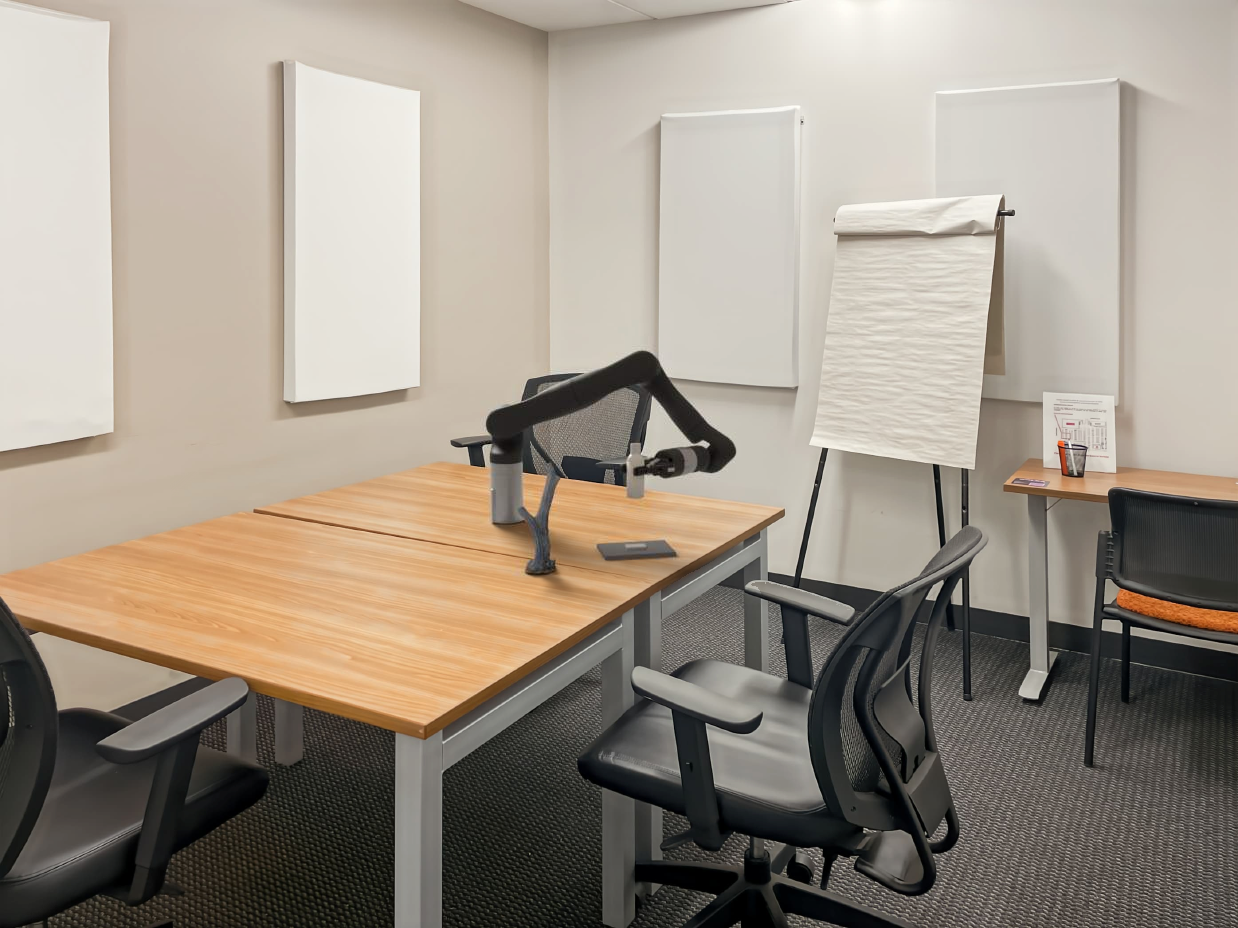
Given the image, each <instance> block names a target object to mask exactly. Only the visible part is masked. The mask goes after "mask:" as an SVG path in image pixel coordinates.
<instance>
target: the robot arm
mask: <svg viewBox="0 0 1238 928" xmlns="http://www.w3.org/2000/svg"><path fill="white" fill-rule="evenodd" d="M636 385H639V386H640V387H641V388H643V389H644V390H645V391H646V392H648V393H649V394H650V395H651V396H652V397H653V398H654V399H655V400H656V401H657V402H658V403H659V405H660V406H661V407H662V409H663V410H664V411H665V412H666V415H668V417H669V418H670V420H671V421H672V422H673V424H674V425H675V427H676V428H677V429H678V430H679V431H680V432H681V433H682V435H684V437H686V438H685V439H687V440H688V441H689V442H690V444H693V445H690V446H678V447H671V448H665V449H664V448H663V449H660V450H658V451H657V452H656V454H655V455H654V456H648V457H645V458H644V466H638V467H634V468H633V475H634V476H641V475H644V476H652V477H660V478H662V479H666V480H667V479H671V478H678V477H682V476H686V475H689V474H692V473H698V472H701V473H707V474H714V473H718V472H720V471H721V470H723V468H725V467H726V466H727V465H728V464H729V463H730V462H731V461H732V460H733V459H734V458H735V457H736V455H737V448H736V445H735V443H734V442H733V440H731V438H729V437H728V436H727V435H726V434H724V433H722V432H721V431H719V430H718V429H716V428H715V427H713V426H712V425H711V424H710V423H708V421H706V419H705V418H704V417H703V416H702V415H701V413H700V412H699V411H698V410H697V408H695V407H694V406H693V405H692V404H691V403H690V401H689V400H687V398H685V397H684V395H683V394H682V393H681V392H680V391H679V390H678V388H676V386H675V385H674V384H673V383H672V381H671V380H670V378H669V377H668V375H667V374H666V372H665V370H664V369H663V366H662V365H661V362H660V360H659V359H658V357H657V356H655V355H654V354H653V353H652V352H650V351H648V350H643V349H642V350H637V351H634V352H632V353H630V354H627V355H626V356H624V357H622V358H620V359H618V360H617V361H615V362H612V363H611V364H609V365H606V366H604V367H601V368H597V369H594V370H591V371H588V372H585V373H582V374H579V375H577V376H573V377H570V378H568V379H565V380H563V381H559V382H558V383H555V384H554V385H552V386H550V387H548V388H547V389H545V390H543V391H540V392H539V393H537V394H536V395H534V396H532V397H530V398H528V399H526V400H523V401H520V402H516V403H513V404H507V403H506V404H502V405H499V406H497V407H495V408H493V410H491V411H490V412H489V413H488V415H487V418H486V421H485V428H486V431H487V433H488V434H489V435H490V436H491V446H490V452H489V478H490V479H489V480H490V481H489V482H490V486H489V504H490V507H489V508H490V521H491V523H492V524H506V525H507V524H516V523H521V522H523V521H524V518H523V517H522V516H521V515H520V514H519V512H518V508H520V507H521V506H523V507H524V480H523V476H524V473H523V471H524V469H523V453H524V445H525V444H524V441H525V440H524V437H525V436H524V434H525V432H524V431H525V430H527V429H529V428H531V427H533V426H535V425H538V424H542V423H544V422H549V421H552V420H557V419H559V418H562V417H565V416H568V415H571V414H574V413H577V412H579V411H582V410H584V409H586V408H589V407H591V406H594V405H595V404H597V403H598V402H599V401H602V400H603V399H605V398H606V397H607V396H609V395H611V394H613V393H615V392H617V391H619V390H622V389H626V388H629V387H632V386H636ZM703 441H704V442H706V443H707V444H709V445H708V446H707V447H705V446H703V445H697V444H698V443H701V442H703ZM619 474H627V462H626V463H621V464H619Z"/></svg>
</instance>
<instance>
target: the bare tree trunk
mask: <svg viewBox="0 0 1238 928" xmlns="http://www.w3.org/2000/svg"><path fill="white" fill-rule="evenodd" d="M546 467H547V468H546V479H545V482H544V483H545V484H544V489H543V491H542V495H541V498H540V502H539V507H538V509H537V512H536V514H535V516H533V515H532V514H531V513H530V512H529V511H528V510H527V509H526V507H524V505H523V506H521V507H520V508H518V512H519V514H520V515H521V516H522V517H523V520H525V521H526V522H527V526H528V528H529V530H530V532H531V533H532V537H533V541H534V558H533V559H530V560H529V561H528V562H527V563H526V566H525V569H524V571H525V572H526V573H529V574H541V573H544V574H546V573H551V572H552V571H553V572H554V571H555V570H556V569H557V567H556V558H553V559H550V558H551V547H552V546H551V543H550V538H549V531H550V530H549V515H550V511H551V507H552V502H553V499H554V495H555V492H556V488H557V485H558V483H559V482H560V480H561V476H559V475H557V473H556V470H555V467H554V465H553V463H552V462H548V463H547V466H546Z"/></svg>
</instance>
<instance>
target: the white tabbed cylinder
mask: <svg viewBox="0 0 1238 928" xmlns="http://www.w3.org/2000/svg"><path fill="white" fill-rule="evenodd" d="M641 446H642V443H641V442H633V443H632V442H631V443H630V449H629V450H630V454H628V456H627V458H626V463H627V473H626V498H628V499H643V498H645V475H641V476H634V475H633V468H634V467H638V466H644V459H645V458H644V456H643V455H642V451H641V450H642V447H641Z"/></svg>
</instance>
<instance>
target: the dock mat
mask: <svg viewBox="0 0 1238 928" xmlns="http://www.w3.org/2000/svg"><path fill="white" fill-rule="evenodd" d="M596 549H597V550H598V551H599V553H600V554H601V557H602V558H603V559H604V560H605V561H612V560H627V559H628V560H631V559H644V558H646V559H649V558H650V559H651V558H663V557H664V558H665V557H676V556H677V552H676V550H675V549H674V548H673V547H672V546H671V545H670V544H669V543H668V542H667V541H666V540H665V539H657V540H656V539H655V540H639V541H638V540H637V541H621V542H605V543H604V542H603V543H602V542H601V543H596Z"/></svg>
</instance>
